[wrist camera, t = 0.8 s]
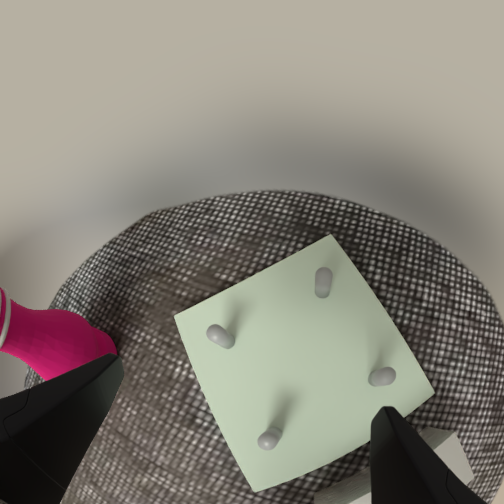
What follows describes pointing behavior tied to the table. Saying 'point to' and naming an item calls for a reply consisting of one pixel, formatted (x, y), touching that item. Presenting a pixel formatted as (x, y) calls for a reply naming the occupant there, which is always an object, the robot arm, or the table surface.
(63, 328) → the pepper mill
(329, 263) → the pale green peg board
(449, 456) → the block
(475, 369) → the table surface
